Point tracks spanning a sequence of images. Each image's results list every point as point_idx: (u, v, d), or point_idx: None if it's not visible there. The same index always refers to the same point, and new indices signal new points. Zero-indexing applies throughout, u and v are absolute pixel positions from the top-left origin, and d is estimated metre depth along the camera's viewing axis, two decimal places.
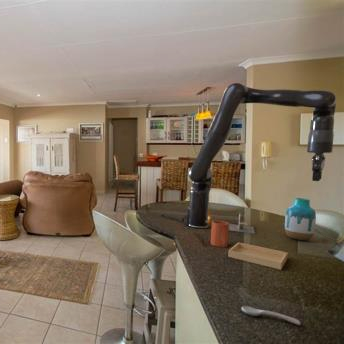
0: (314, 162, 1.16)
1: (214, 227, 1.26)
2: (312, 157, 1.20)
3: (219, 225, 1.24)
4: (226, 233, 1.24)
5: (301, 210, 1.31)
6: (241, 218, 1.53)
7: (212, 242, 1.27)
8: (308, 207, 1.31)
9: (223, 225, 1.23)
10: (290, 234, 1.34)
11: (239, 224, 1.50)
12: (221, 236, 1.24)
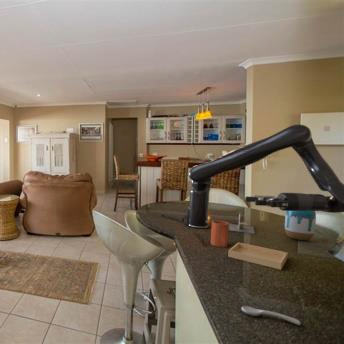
0: (280, 202, 1.15)
1: (214, 227, 1.26)
2: (278, 197, 1.19)
3: (219, 225, 1.24)
4: (226, 233, 1.24)
5: None
6: (241, 218, 1.53)
7: (212, 242, 1.27)
8: None
9: (223, 225, 1.23)
10: (290, 234, 1.34)
11: (239, 224, 1.50)
12: (221, 236, 1.24)
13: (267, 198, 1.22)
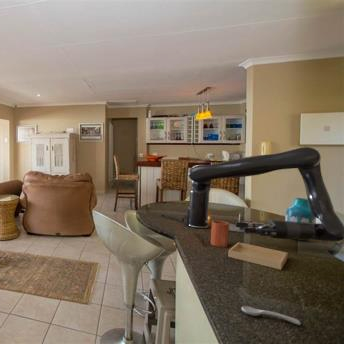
0: (269, 231, 1.17)
1: (214, 227, 1.26)
2: (267, 225, 1.21)
3: (219, 225, 1.24)
4: (226, 233, 1.24)
5: (301, 210, 1.31)
6: (241, 218, 1.53)
7: (212, 242, 1.27)
8: (308, 207, 1.31)
9: (223, 225, 1.23)
10: None
11: None
12: (221, 236, 1.24)
13: (257, 225, 1.24)
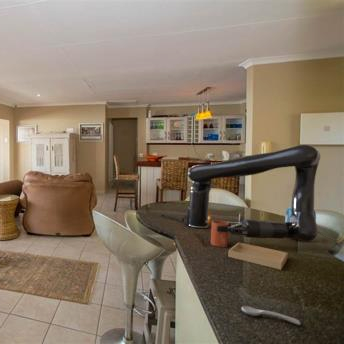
0: (240, 230, 1.19)
1: (214, 227, 1.26)
2: (241, 224, 1.23)
3: (219, 225, 1.24)
4: (226, 233, 1.24)
5: None
6: (241, 218, 1.53)
7: (212, 242, 1.27)
8: None
9: (223, 225, 1.23)
10: None
11: None
12: (221, 236, 1.24)
13: (231, 224, 1.26)
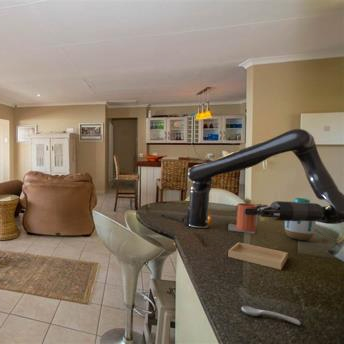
0: (271, 212, 1.08)
1: (241, 210, 1.15)
2: (271, 206, 1.12)
3: (247, 207, 1.13)
4: (255, 216, 1.13)
5: None
6: None
7: (239, 227, 1.16)
8: None
9: (251, 207, 1.12)
10: (290, 234, 1.34)
11: None
12: (249, 219, 1.13)
13: (260, 207, 1.15)
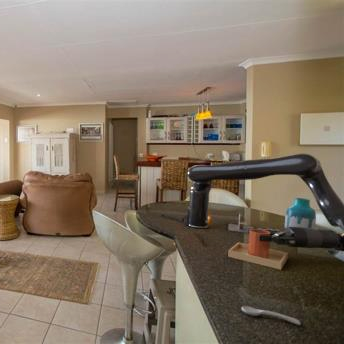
0: (287, 239, 1.04)
1: (253, 237, 1.10)
2: (284, 232, 1.08)
3: None
4: (267, 244, 1.09)
5: (301, 210, 1.31)
6: (241, 218, 1.53)
7: (250, 254, 1.12)
8: (308, 207, 1.31)
9: None
10: None
11: (239, 224, 1.50)
12: (262, 247, 1.09)
13: (272, 232, 1.11)
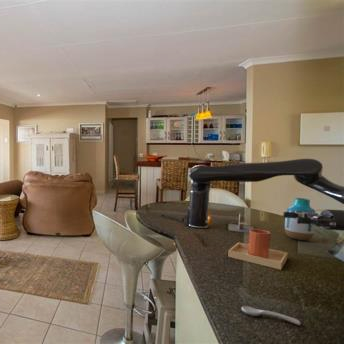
0: (327, 221, 1.02)
1: (253, 237, 1.10)
2: (323, 215, 1.07)
3: (259, 235, 1.09)
4: (267, 244, 1.09)
5: (301, 210, 1.31)
6: (241, 218, 1.53)
7: (250, 254, 1.12)
8: (308, 207, 1.31)
9: (264, 235, 1.08)
10: (290, 234, 1.34)
11: (239, 224, 1.50)
12: (262, 247, 1.09)
13: (309, 215, 1.10)
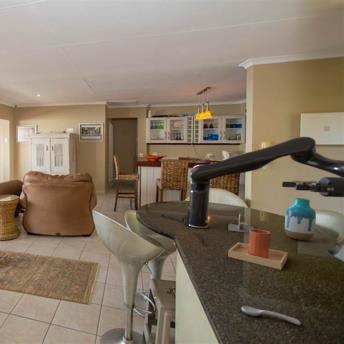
0: (325, 187, 1.04)
1: (253, 237, 1.10)
2: (321, 182, 1.09)
3: (259, 235, 1.09)
4: (267, 244, 1.09)
5: (301, 210, 1.31)
6: (241, 218, 1.53)
7: (250, 254, 1.12)
8: (308, 207, 1.31)
9: (264, 235, 1.08)
10: (290, 234, 1.34)
11: (239, 224, 1.50)
12: (262, 247, 1.09)
13: (308, 183, 1.12)
